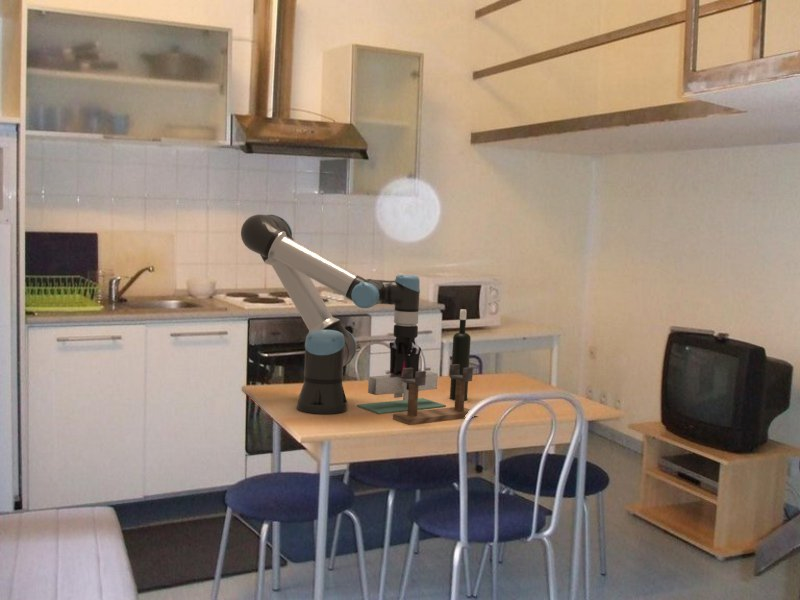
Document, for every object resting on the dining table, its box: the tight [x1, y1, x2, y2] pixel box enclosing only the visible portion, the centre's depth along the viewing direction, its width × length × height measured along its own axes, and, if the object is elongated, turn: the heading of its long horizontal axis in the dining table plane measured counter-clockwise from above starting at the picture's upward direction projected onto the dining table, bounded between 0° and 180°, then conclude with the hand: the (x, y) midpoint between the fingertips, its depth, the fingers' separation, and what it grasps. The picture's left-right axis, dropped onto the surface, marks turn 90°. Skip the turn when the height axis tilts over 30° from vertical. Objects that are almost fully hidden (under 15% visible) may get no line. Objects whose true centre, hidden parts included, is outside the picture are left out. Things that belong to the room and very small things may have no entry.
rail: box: [367, 371, 439, 396], centre depth 275 cm, size 24×4×5 cm, turn 127°
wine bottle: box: [449, 308, 472, 401], centre depth 291 cm, size 6×6×30 cm
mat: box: [356, 397, 447, 415], centre depth 276 cm, size 26×12×1 cm, turn 127°
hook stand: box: [392, 364, 474, 426], centre depth 261 cm, size 26×8×15 cm, turn 127°
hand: (402, 398), depth 275 cm, fingers closed on rail, 4 cm apart
